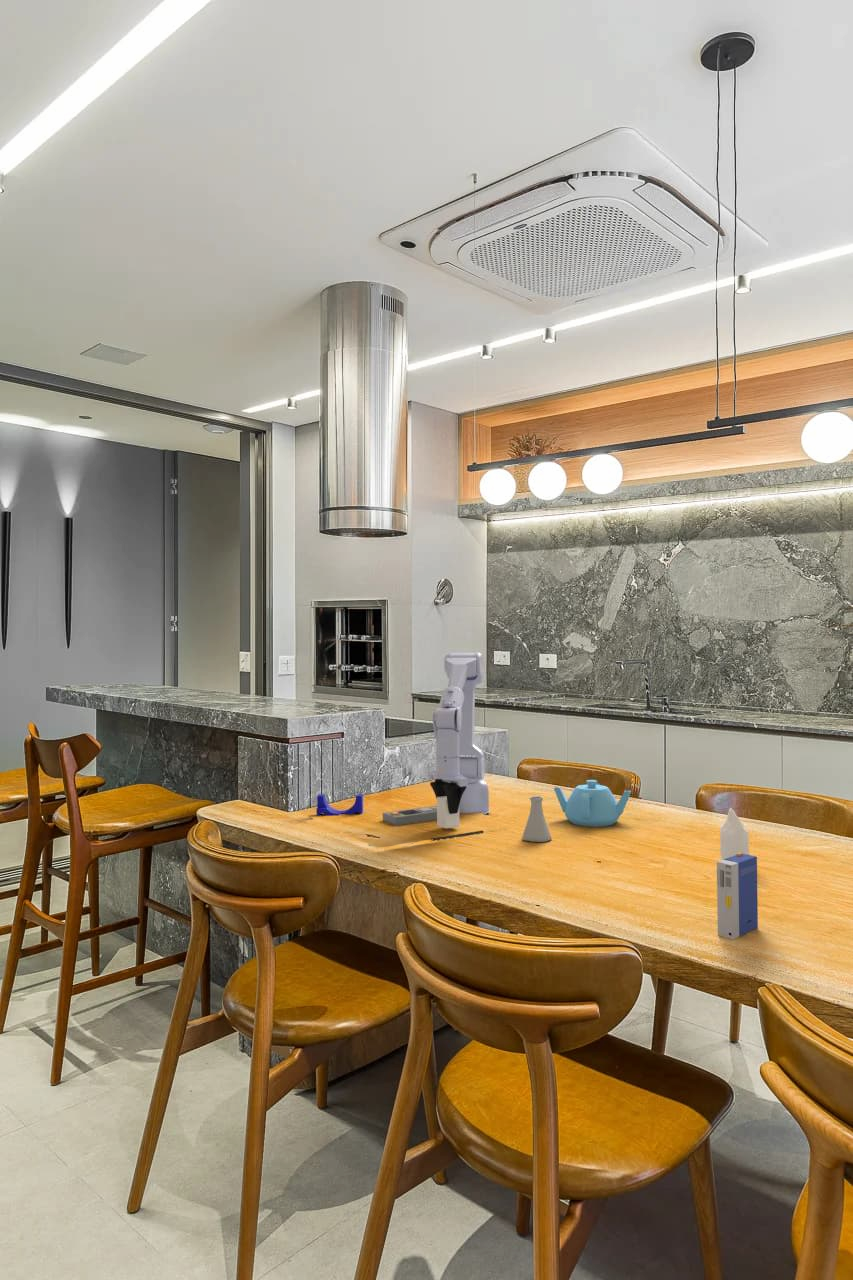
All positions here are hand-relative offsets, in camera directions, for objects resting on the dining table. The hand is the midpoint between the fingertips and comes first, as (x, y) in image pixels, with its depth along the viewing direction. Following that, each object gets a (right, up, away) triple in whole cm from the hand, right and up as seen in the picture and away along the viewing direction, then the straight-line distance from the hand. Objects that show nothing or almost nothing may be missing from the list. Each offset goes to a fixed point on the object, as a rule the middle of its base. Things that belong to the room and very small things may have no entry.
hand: (448, 811), depth 201 cm
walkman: (+45, -5, -70) cm, 83 cm away
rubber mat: (0, -5, 0) cm, 5 cm away
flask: (+21, -5, -7) cm, 23 cm away
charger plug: (0, -4, 0) cm, 4 cm away
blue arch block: (-29, -6, +20) cm, 35 cm away
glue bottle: (+58, -5, -33) cm, 67 cm away
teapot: (+38, -5, +11) cm, 40 cm away
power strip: (-7, -5, +12) cm, 15 cm away
